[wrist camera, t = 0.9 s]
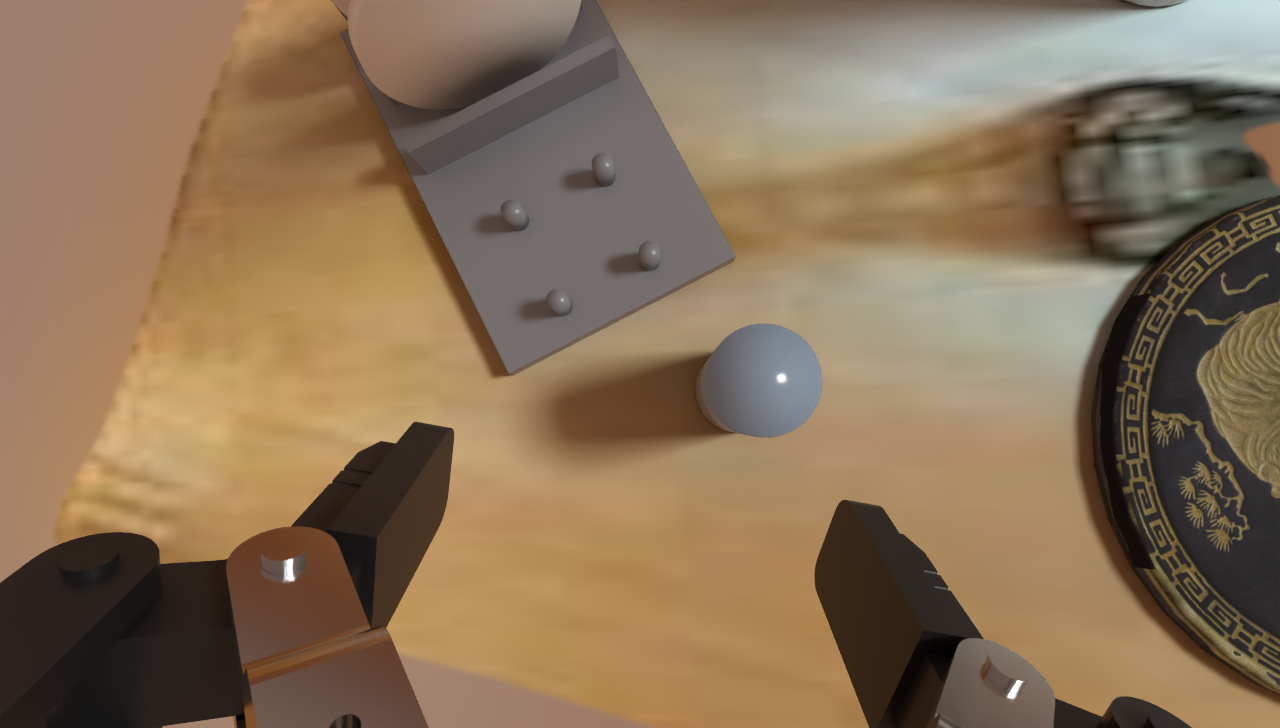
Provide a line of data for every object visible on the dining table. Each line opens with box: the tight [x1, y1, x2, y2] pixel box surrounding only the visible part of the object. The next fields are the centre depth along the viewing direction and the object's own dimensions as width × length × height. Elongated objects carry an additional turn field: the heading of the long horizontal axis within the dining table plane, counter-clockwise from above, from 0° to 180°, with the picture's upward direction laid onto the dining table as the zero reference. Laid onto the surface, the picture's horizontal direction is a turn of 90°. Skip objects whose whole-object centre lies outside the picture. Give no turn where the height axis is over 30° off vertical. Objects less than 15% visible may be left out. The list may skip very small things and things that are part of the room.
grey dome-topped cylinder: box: [695, 324, 822, 437], centre depth 31 cm, size 5×5×10 cm
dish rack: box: [331, 0, 736, 375], centre depth 31 cm, size 15×24×13 cm, turn 27°
